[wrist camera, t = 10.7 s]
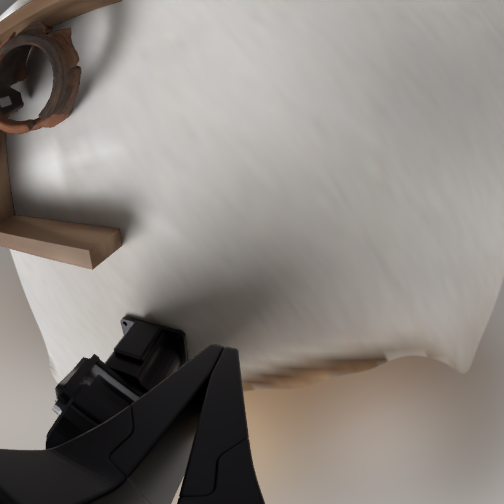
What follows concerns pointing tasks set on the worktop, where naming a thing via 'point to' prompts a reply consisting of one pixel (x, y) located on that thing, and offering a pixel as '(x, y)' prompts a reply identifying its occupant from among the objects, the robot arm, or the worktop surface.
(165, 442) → the robot arm
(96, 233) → the walnut bay
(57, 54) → the pottery mug
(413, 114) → the worktop surface
